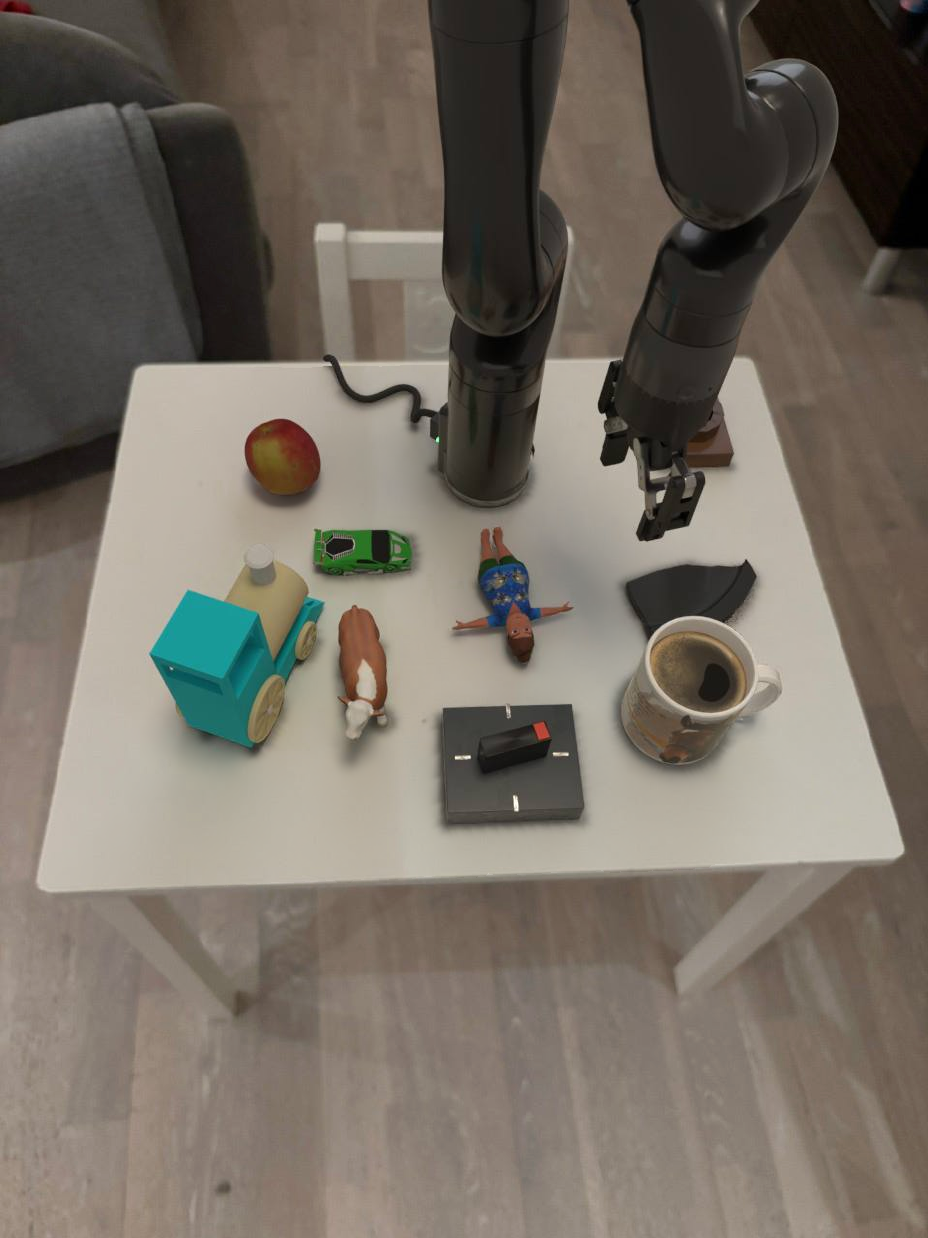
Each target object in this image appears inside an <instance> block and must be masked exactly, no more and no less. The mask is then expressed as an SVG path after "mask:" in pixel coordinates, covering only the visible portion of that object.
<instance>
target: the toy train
mask: <svg viewBox="0 0 928 1238" xmlns="http://www.w3.org/2000/svg"><path fill="white" fill-rule="evenodd" d="M243 562H244V566H243V567H242V569H241V571H240V573H239V574H238V576H237V578H236V580H235V581H234V583H233V585H232V587H231V589H230V590H229V592H228V594H227V595H226V598H225V599H224V600H221V599H218V598H214V597H211V596H208V595H206V594H203V593H199V592H196V591H193V590H191V589H187V590H186V591H185V593H184V595H183V597H182V598H181V600H180V602H179V603H178V605H177V607H176V608H175V610H174V611H173V613H172V615H171V617H170V618H169V620H168V622H167V623H166V624H165V627H164V628H163V630H162V632H161V633H160V634H159V637H158V638H157V639H156V641H155V643H154V645H153V646H152V648H151V650H150V652H149V653H148V655H149V656H150V658H151V660H152V662H153V664H154V665H155V668H156V669H157V671H158V672H159V674H160V676H161V678H162V680H163V682H164V683H165V685H166V687H167V689H168V691H169V693H170V694H171V696H172V698H173V700H174V703H175V710H176V713H177V715H178V716H179V717H180V718H183V719H184V720H185V721H186V723H187V725H188V726H189V727H191V728H194V729H197V730H200V731H202V732H206V733H209V734H212V735H214V736H217V737H220V738H223V739H226V740H228V741H232V742H235V743H237V744H240V745H242V746H246V747H248V748H250V749H251V748H253V746H254V744H258V743H261V742H263V741H264V740H265V739H266V738H267V737H268V735H269V734H270V732H271V731H272V729H273V728H274V726H275V724H276V721H277V719H278V717H279V715H280V711H281V709H282V706H283V702H284V697H285V689H286V684H285V683H286V680H287V679H288V677H289V675H290V673H291V670H292V669H293V667H294V665H295V663H296V661H297V660H299V661H300V660H301V661H303V660H305V659H307V658H308V656H309V654H310V653H311V651H312V648H313V646H314V643H315V641H316V637H317V632H318V631H317V629H318V627H317V624H316V621H317V620H318V617H319V615H320V613H321V611H322V609H323V607H324V605H325V601H323V600H319V599H317V598H313V597H311V596H308V595H309V587H308V584H307V582H306V581H305V579H304V578H303V577H302V576H301V575H300V574H299V573H298V572H297V571H296V570H295V569H293V568H292V567H290V566H288V565H287V564H284V563H283V562H280V561H278V560H275V552H274V550H273V549H272V547H270V546H269V545H267V544H264V543H256V544H253V545H251V546H249V547H248V548H247V549H246V550H245V551H244V553H243Z"/></svg>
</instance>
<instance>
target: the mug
mask: <svg viewBox="0 0 928 1238" xmlns="http://www.w3.org/2000/svg"><path fill="white" fill-rule="evenodd" d="M759 683H765V684H768V686H766V687H765V688H763V689H762V690H760V691H759V692H757V693H756V691H757V689H758V684H759ZM782 692H783V685H782V681H781V678H780V673H779V671H778V670H777V669H775V668H774V667H773V666H771V665H768V664H766V663H759V662H758V661H757V658H756V655H755V653H754V651H753V649H752V647H751V646H750V644H749V643H748V642H747V640H746V639H745V638H744V637H743V635H741V634H740V633H739V632H738V631H736V629H734V628H732V627H730V626H729V625H728V624H726V623H725V622H724V623H722V622H720V621H717V620H714V619H711V618H706V617H701V616H687V617H681V618H677V619H674V620H672V621H669V622H667V623H666V624H664V625H662V626H661V627H660V628H659V629H657V630H656V631H655V633H654V634H653V635H652V634H651V636H650V638H649V640H648V642H647V645H646V646H645V648H644V651H643V653H642V655H641V657H640V659H639V662H638V664H637V666H636V668H635V671H634V673H633V675H632V677H631V680H630V682H629V684H628V686H627V688H626V690H625V693H624V695H623V697H622V701H621V705H620V706H621V707H620V717H621V723H622V726H623V728H624V732H625V733H626V735H627V737H628V738H629V741H631V742H632V744H633V745H634V746H635V747H636V748H637V749H638V750H639V751H640V752H642V753H643V754H645V756H647V757H649V758H650V759H653V760H655V761H658V762H661V763H663V764H667V765H668V764H669V765H678V766H682V765H689V764H693V763H696V762H697V763H698V761H701V760H703V759H705V758H706V757H708V756H709V755H710V754H711V753H712V752H713V751H714V750H715V749H716V747H717V746H718V745H719V743H721V741H722V739H723V738H724V736H725V735H726V734H727V732H728V731H729V730H730V728H731V727H732V726H733V724H734V723H735V722H736V720H737V719H738V718H742V717H746V716H750V715H754V714H757V713H759V712H761V711H763V710H765V709H768V707H770V706H772V705H773V704H774V703H775V702H776V701H777V700H778V698H780V696H781V695H782Z"/></svg>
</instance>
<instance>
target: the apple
mask: <svg viewBox="0 0 928 1238" xmlns="http://www.w3.org/2000/svg"><path fill="white" fill-rule="evenodd" d="M243 451H244V452H243V453H244V459H245V463H246V466H247V469H248V471H249V473H250V474H251V475H252V477H253V478H254V479H255V481H256V482H257V483H258V484H259V485H260V486H261V487H262V488H263V489H266V490H267V491H268V492H270V493H272V494H275V495H281V496H285V495H288V496H289V495H295V494H300V493H302V492H304V491H306V490H308V489H309V488H311V487H312V486H313V485H314V484H315V483H316V481H318V479H319V477H320V475H321V469H322V463H321V456H320V451H319V449H318V446H317V444H316V442H315V440H314V438H313V437H312V436H311V435H310V434H309V432H308V431H307V430H306V429H305V428H303V427H302V426H301V425H300V424H298V423H297V422H295V421H293V420H291V419H288V418H274V419H271V420H268V421H266V422H262V423H260V424H259V425H257V426H256V427H254V428H253V429H252V430H251V431H250V433H249V434H248V436H247V437H246V440H245V443H244V450H243Z"/></svg>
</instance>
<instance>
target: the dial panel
mask: <svg viewBox="0 0 928 1238" xmlns="http://www.w3.org/2000/svg"><path fill="white" fill-rule="evenodd" d="M441 716H442V717H441V725H442V726H441V727H442V729H441V730H442V751H443V773H444V774H443V775H444V798H445V800H444V801H445V821H446V822H445V823H446V824H466V823H467V824H468V823H495V822H519V821H520V822H521V821H547V820H549V821H550V820H572V819H573V820H574V819H575V820H576V819H580V818H581V816H582V813H583V811H584V810H585V802H584V793H583V784H582V783H583V782H582V777H581V776H582V775H581V768H580V759H579V752H578V742H577V736H576V735H577V734H576V726H575V719H574V718H575V717H574V709H573V704H572V703H560V704H557V703H556V704H529V705H510V703H505V705H496V706H495V705H494V706H493V705H490V706H460V707H459V706H457V707H443V708H442V715H441ZM542 721H545V722H546V724H547V727H548V729H549V732H550V735H551V737H552V741H551V744H550V747H549V750H548V753H547V756H546V757H542V758H538V759H535V760H531V761H528V762H524V763H521V764H517V765H514V766H510V767H506V768H503V769H499V770H496V771H492V772H489V773H485V774H483V772H482V769H481V766H480V763H479V760H478V757H477V754H478V747H479V740H480V738H484V737H487V736H491V735H495V734H498V733H502V732H506V731H509V730H513V729H517V728H520V727H524V726H528V725H531V724H535V723H539V722H542Z"/></svg>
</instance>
